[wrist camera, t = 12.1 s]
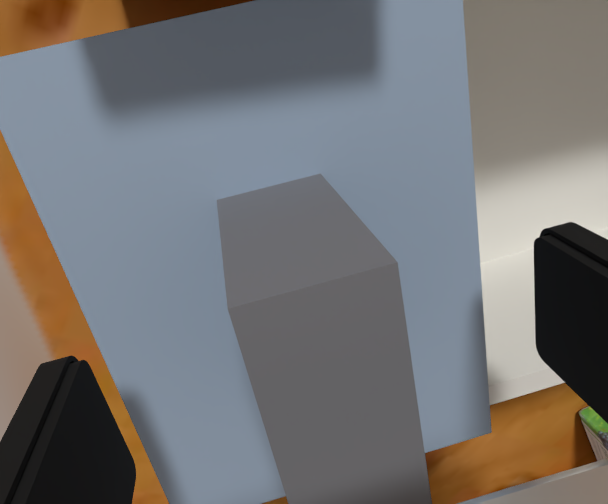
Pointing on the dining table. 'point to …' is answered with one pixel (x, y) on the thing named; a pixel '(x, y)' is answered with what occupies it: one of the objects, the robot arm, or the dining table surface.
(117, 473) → the robot arm
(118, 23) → the dining table surface
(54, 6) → the dining table surface
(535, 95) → the carton
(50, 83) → the flap
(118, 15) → the dining table surface
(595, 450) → the syrup box
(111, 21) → the dining table surface
